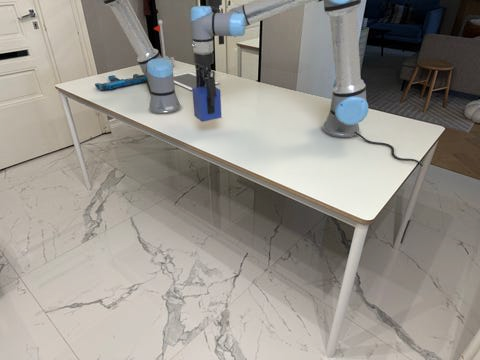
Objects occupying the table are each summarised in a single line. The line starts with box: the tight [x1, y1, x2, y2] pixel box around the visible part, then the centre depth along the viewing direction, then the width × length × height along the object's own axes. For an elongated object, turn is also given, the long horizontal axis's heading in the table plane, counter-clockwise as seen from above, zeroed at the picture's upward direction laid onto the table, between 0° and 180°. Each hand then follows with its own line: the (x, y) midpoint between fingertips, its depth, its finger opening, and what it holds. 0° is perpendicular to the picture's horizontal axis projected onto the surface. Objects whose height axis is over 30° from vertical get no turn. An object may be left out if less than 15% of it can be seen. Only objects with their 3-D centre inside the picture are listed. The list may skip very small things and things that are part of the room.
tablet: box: [173, 71, 220, 91], centre depth 211 cm, size 32×20×1 cm, turn 41°
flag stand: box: [153, 19, 176, 67], centre depth 232 cm, size 13×13×30 cm
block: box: [191, 86, 222, 123], centre depth 139 cm, size 9×8×12 cm
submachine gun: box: [94, 73, 149, 91], centre depth 208 cm, size 34×4×25 cm
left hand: (216, 41), depth 179 cm, fingers open, 13 cm apart
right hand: (207, 109), depth 140 cm, fingers closed on block, 8 cm apart
